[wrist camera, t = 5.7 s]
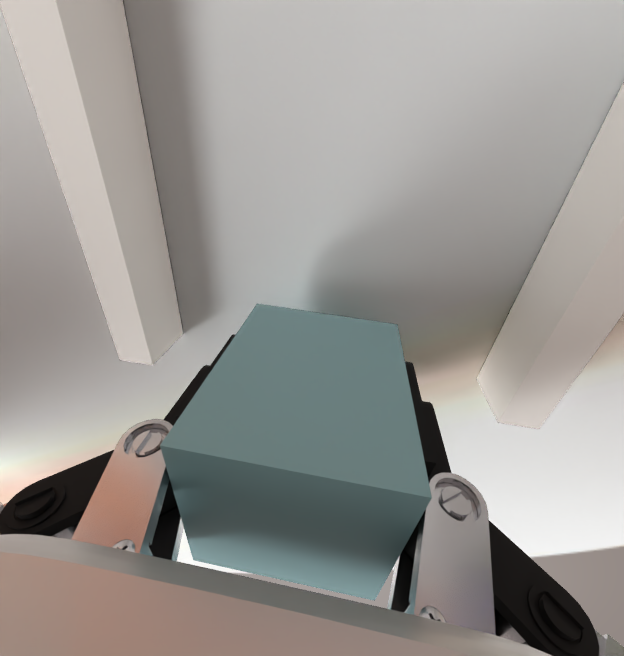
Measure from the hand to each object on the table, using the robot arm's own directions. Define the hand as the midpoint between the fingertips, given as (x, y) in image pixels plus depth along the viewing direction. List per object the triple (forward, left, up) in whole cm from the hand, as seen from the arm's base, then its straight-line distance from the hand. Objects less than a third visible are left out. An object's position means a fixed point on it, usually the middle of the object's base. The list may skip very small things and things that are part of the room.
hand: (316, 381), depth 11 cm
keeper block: (0, 0, -1) cm, 1 cm away
